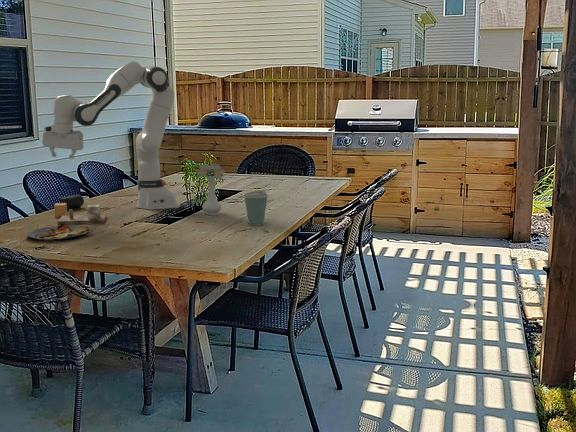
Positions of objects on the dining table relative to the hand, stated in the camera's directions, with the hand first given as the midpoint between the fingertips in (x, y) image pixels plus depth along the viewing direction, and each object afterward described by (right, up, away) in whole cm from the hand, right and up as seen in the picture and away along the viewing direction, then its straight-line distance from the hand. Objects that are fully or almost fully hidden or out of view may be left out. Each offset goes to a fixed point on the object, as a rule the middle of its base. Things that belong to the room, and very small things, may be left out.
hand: (62, 157), depth 316 cm
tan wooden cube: (0, -28, -1) cm, 28 cm away
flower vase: (+72, -27, +5) cm, 77 cm away
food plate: (+14, -37, -45) cm, 60 cm away
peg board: (+14, -31, -15) cm, 37 cm away
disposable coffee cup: (+95, -33, -21) cm, 102 cm away
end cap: (-1, -25, +17) cm, 30 cm away
